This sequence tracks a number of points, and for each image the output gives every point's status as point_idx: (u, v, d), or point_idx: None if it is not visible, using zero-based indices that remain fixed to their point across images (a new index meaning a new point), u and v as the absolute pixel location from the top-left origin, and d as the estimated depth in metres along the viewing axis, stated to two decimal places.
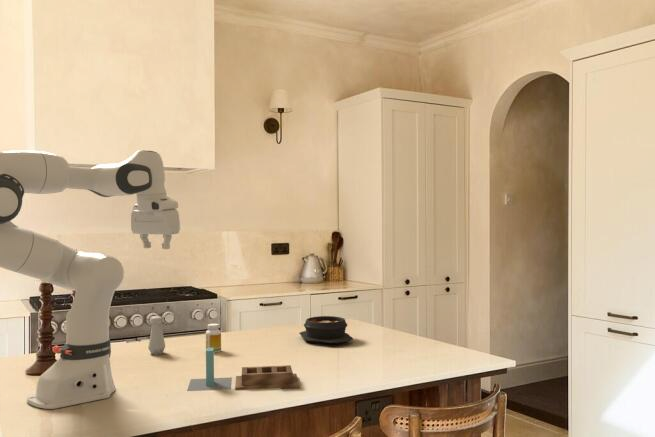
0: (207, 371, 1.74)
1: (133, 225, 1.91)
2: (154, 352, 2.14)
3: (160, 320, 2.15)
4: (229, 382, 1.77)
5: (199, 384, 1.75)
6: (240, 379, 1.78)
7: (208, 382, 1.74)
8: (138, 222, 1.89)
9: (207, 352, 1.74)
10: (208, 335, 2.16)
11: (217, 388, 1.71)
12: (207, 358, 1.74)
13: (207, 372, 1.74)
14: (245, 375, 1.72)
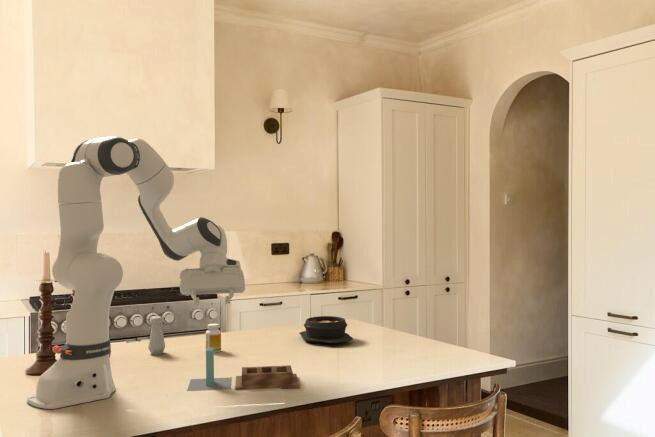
0: (207, 371, 1.74)
1: (184, 281, 1.91)
2: (154, 352, 2.14)
3: (160, 320, 2.15)
4: (229, 382, 1.77)
5: (199, 384, 1.75)
6: (240, 379, 1.78)
7: (208, 382, 1.74)
8: (194, 278, 1.92)
9: (207, 352, 1.74)
10: (208, 335, 2.16)
11: (217, 388, 1.71)
12: (207, 358, 1.74)
13: (207, 372, 1.74)
14: (245, 375, 1.72)
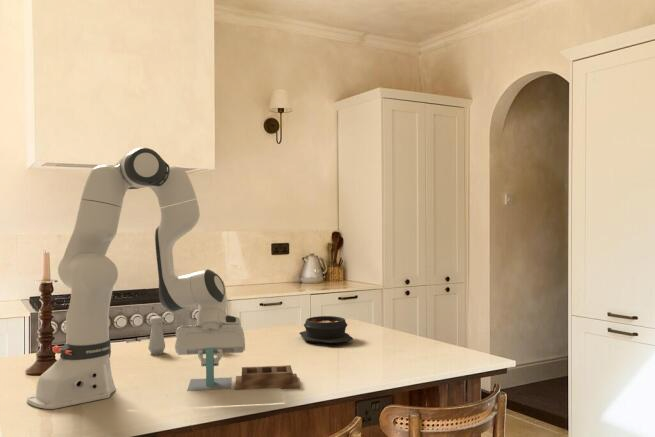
0: (207, 371, 1.74)
1: (180, 340, 1.78)
2: (154, 352, 2.14)
3: (160, 320, 2.15)
4: (229, 382, 1.77)
5: (199, 384, 1.75)
6: (240, 379, 1.78)
7: (208, 382, 1.74)
8: (191, 337, 1.79)
9: (207, 352, 1.74)
10: None
11: (217, 388, 1.71)
12: (207, 358, 1.74)
13: (207, 372, 1.74)
14: (245, 375, 1.72)
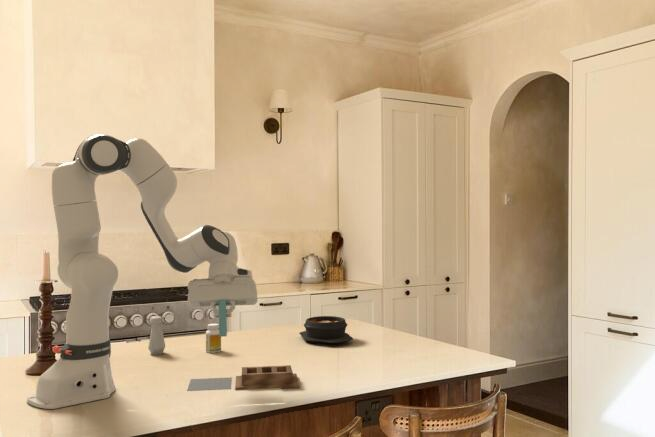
0: (220, 322, 1.74)
1: (193, 292, 1.78)
2: (154, 352, 2.14)
3: (160, 320, 2.15)
4: (229, 382, 1.77)
5: (199, 384, 1.75)
6: (240, 379, 1.78)
7: (221, 333, 1.74)
8: (203, 290, 1.79)
9: (220, 303, 1.74)
10: (208, 335, 2.16)
11: (217, 388, 1.71)
12: (220, 309, 1.74)
13: (220, 323, 1.74)
14: (245, 375, 1.72)
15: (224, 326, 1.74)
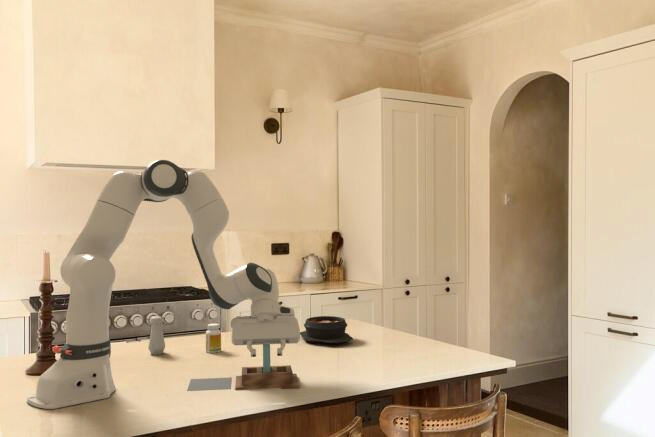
0: (264, 368, 1.75)
1: (236, 331, 1.79)
2: (154, 352, 2.14)
3: (160, 320, 2.15)
4: (229, 382, 1.77)
5: (199, 384, 1.75)
6: (240, 379, 1.78)
7: None
8: (247, 328, 1.80)
9: (265, 349, 1.75)
10: (208, 335, 2.16)
11: (217, 388, 1.71)
12: (264, 354, 1.75)
13: (264, 368, 1.75)
14: (245, 375, 1.72)
15: (268, 372, 1.75)
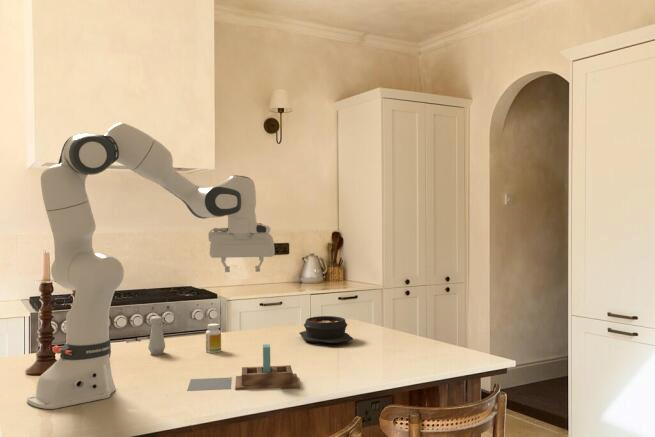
0: (264, 368, 1.75)
1: (214, 249, 1.88)
2: (154, 352, 2.14)
3: (160, 320, 2.15)
4: (229, 382, 1.77)
5: (199, 384, 1.75)
6: (240, 379, 1.78)
7: None
8: (224, 246, 1.89)
9: (265, 349, 1.75)
10: (208, 335, 2.16)
11: (217, 388, 1.71)
12: (264, 354, 1.75)
13: (264, 368, 1.75)
14: (245, 375, 1.72)
15: (268, 372, 1.75)
